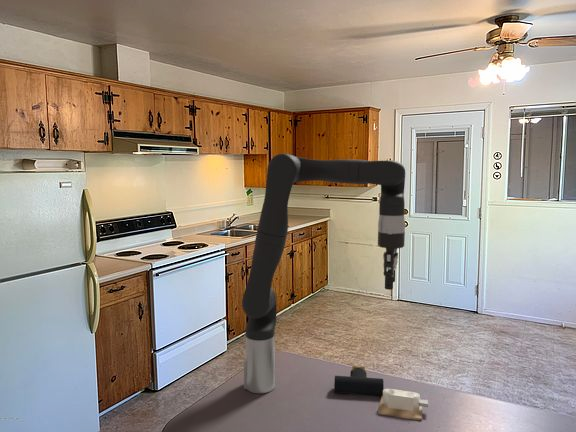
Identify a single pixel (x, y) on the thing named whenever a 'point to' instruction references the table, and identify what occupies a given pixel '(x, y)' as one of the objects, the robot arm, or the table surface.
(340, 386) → the pipe connector
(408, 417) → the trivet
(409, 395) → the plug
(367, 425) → the table surface
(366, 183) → the robot arm
